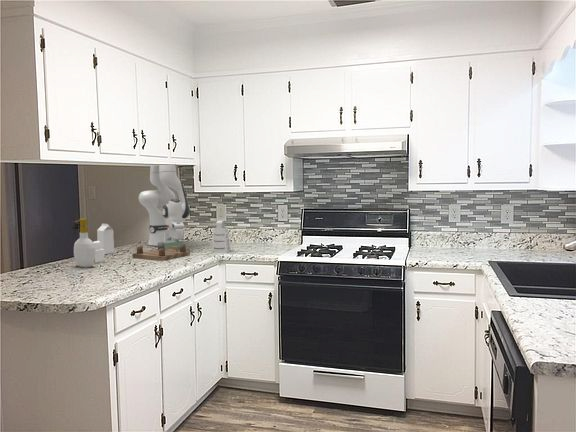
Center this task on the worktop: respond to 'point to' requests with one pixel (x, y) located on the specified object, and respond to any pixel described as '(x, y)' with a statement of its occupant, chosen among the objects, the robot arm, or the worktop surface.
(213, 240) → the grey tiered tower
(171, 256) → the stool seat
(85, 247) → the soap bottle
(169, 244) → the hinged leg
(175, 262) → the worktop surface
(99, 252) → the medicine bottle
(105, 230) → the milk carton
